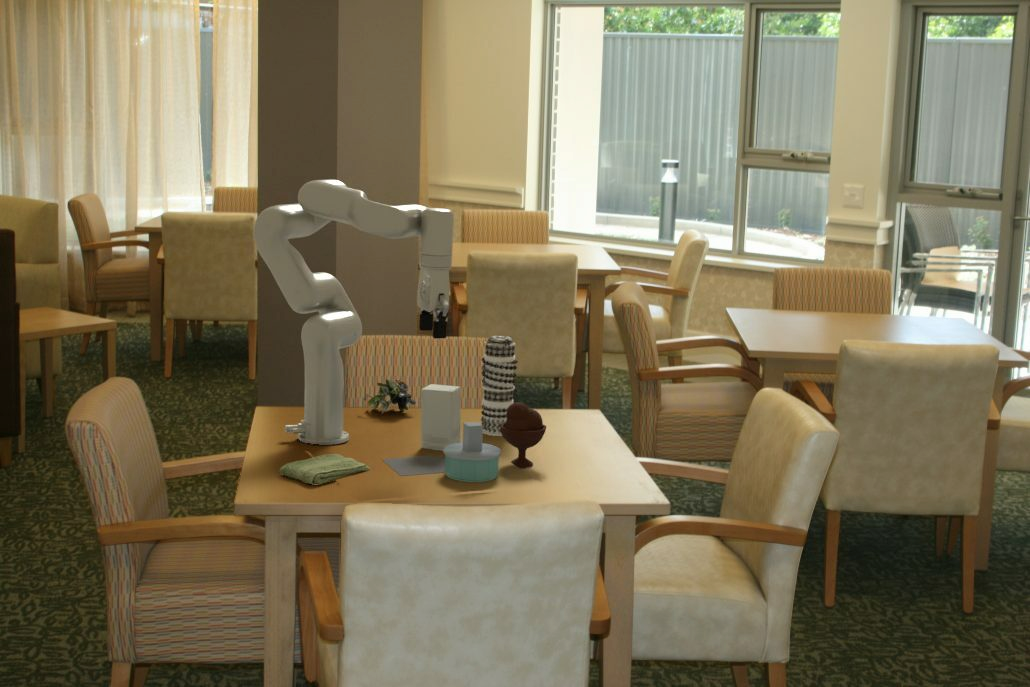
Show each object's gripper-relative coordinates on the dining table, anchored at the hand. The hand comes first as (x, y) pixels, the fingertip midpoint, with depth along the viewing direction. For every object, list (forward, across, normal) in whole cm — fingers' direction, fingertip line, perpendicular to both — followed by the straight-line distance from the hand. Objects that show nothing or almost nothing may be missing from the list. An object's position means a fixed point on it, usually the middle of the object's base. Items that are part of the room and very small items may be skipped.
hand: (432, 334), depth 296 cm
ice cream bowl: (+30, +12, +19) cm, 37 cm away
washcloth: (+31, +7, -27) cm, 41 cm away
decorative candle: (+30, -18, +25) cm, 43 cm away
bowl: (+30, +18, +4) cm, 35 cm away
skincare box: (+30, -6, +5) cm, 31 cm away
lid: (+24, +18, +4) cm, 30 cm away
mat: (+30, +8, -5) cm, 31 cm away
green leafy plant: (+31, -44, +4) cm, 54 cm away
